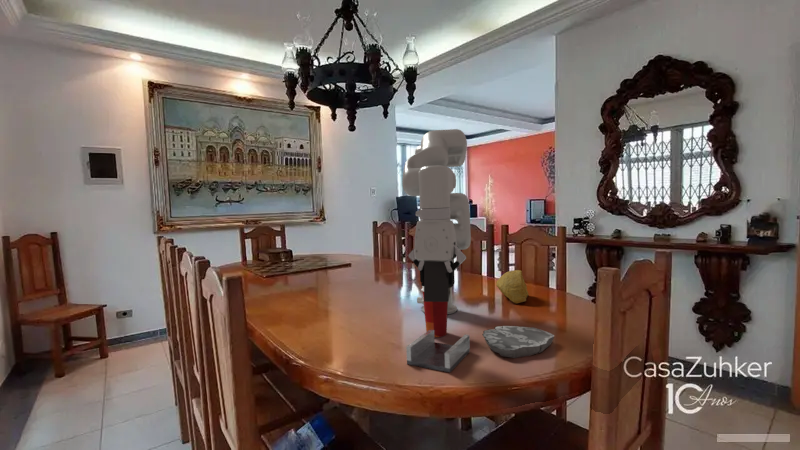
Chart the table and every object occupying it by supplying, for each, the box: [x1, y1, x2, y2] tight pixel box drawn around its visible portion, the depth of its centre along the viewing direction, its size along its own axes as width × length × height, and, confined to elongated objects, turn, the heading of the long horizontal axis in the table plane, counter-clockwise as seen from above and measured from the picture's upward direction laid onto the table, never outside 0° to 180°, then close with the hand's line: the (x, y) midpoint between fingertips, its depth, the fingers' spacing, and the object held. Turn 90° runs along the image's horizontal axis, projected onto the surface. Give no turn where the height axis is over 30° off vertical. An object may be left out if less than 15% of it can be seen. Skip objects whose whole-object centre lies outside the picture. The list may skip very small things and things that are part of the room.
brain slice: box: [482, 325, 555, 359], centre depth 107 cm, size 20×17×3 cm
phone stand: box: [424, 261, 450, 302], centre depth 100 cm, size 9×6×12 cm, turn 170°
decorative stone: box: [496, 269, 530, 305], centre depth 155 cm, size 13×15×15 cm
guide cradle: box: [406, 329, 471, 374], centre depth 101 cm, size 11×14×4 cm
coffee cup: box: [420, 286, 448, 338], centre depth 119 cm, size 8×8×15 cm
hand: (437, 285), depth 100 cm, fingers closed on phone stand, 6 cm apart
